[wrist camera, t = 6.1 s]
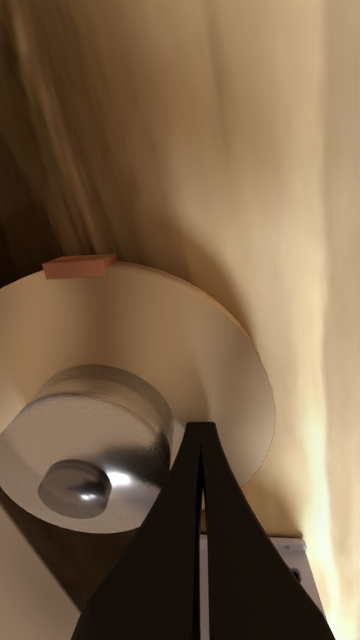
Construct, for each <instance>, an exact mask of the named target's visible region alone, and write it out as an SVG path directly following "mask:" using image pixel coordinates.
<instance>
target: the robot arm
mask: <svg viewBox="0 0 360 640" xmlns="http://www.w3.org/2000/svg"><path fill="white" fill-rule="evenodd" d="M203 492H204V503H205V513H206V523H207V535H200V530H201V514H202V498H203ZM306 548H307V547H306V543H305V541H304V540H302V539H297V538H272V537H268V535H267V534H266V532H265V531H264V529H263V528H262V526H261V524H260V523H259V521H258V519H257V518H256V516H255V514H254V512H253V511H252V509H251V507H250V505H249V504H248V502H247V500H246V498H245V496H244V494H243V492H242V490H241V489H240V487H239V484H238V482H237V480H236V478H235V476H234V474H233V472H232V470H231V467H230V465H229V463H228V460H227V458H226V456H225V453H224V451H223V448H222V445H221V442H220V439H219V436H218V432H217V428H216V423H214V422H188V423H186V427H185V432H184V435H183V439H182V442H181V445H180V448H179V450H178V453H177V455H176V458H175V460H174V463H173V465H172V468H171V470H170V472H169V474H168V476H167V478H166V481H165V483H164V485H163V487H162V489H161V491H160V493H159V495H158V496H157V498H156V500H155V502H154V504H153V505H152V507H151V509H150V511H149V512H148V514H147V516H146V517H145V519H144V521H143V522H142V524H141V526H140V527H139V529H138V530H137V532H136V533H135V535H134V536H133V538H132V539H131V541H130V542H129V544H128V545H127V547H126V548H125V549H124V551H123V552H122V554H121V555H120V557H119V558H118V560H117V561H116V562H115V564H114V565H113V566H112V568H111V569H110V570H109V572H108V573H107V574H106V575H105V577H104V578H103V579H102V581H101V582H100V583H99V585H98V586H97V587H96V588H95V590H94V591H93V592H92V594H91V595H90V596H89V598H88V600H87V602H86V604H85V606H84V608H83V610H82V613H81V615H80V617H79V620H78V622H77V625H76V628H75V630H74V633H73V635H72V638H71V640H335V638H334V635H333V633H332V631H331V629H330V627H329V625H328V623H327V620H326V616H325V613H324V610H323V607H322V604H321V600H320V597H319V594H318V591H317V588H316V584H315V581H314V578H313V575H312V571H311V568H310V565H309V562H308V559H307V555H306V553H305V552H306Z"/></svg>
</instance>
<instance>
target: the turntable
mask: <svg viewBox="0 0 360 640" xmlns="http://www.w3.org/2000/svg"><path fill="white" fill-rule="evenodd" d="M42 266H43V269H44V270H42V271H39V272H36V273H34V274H31V275H29V276H26V277H24V278H22V279H20V280H17V281H15V282H13V283H11V284H9V285H7V286H4V287H3V288H1V289H0V434H1V433H2V431H3V430H4V429H5V428H6V427H7V426H8V425H9V423H10V422H11V421H12V420H13V419H14V418H15V417H16V416H17V414H18V413H19V412H20V411H21V410H22V409H23V408H24V406H25V405H26V404H27V403H28V402H29V401H30V400H31V398H32V397H33V396H34V395H35V394H36V393H37V392H38V390H39V389H40V388H41V387H42V386H43V385H44V384H45V383H46V381H48V380H49V379H50V378H51V377H52V376H53V375H55V374H56V373H58V372H60V371H62V370H64V369H67V368H70V367H74V366H79V365H88V364H97V365H107V366H112V367H116V368H119V369H123V370H126V371H128V372H130V373H133V374H135V375H137V376H138V377H140V378H142V379H144V380H145V381H146V382H148V383H149V384H151V385H152V386H153V387H154V388H155V389H156V390H157V391H158V392H159V393H160V394H161V395H162V396H163V397H164V399H165V400H166V402H167V403H168V405H169V407H170V409H171V411H172V415H173V418H174V425H175V427H174V439H173V448H172V458H171V467H170V470H171V468H172V465H173V463H174V460H175V458H176V455H177V453H178V450H179V448H180V445H181V442H182V439H183V435H184V432H185V427H186V423H188V422H214V423H216V428H217V432H218V436H219V439H220V442H221V445H222V448H223V451H224V453H225V456H226V458H227V460H228V463H229V465H230V467H231V470H232V472H233V474H234V476H235V478H236V480H237V482H238V484H239V487H240V488H241V487H242V486H243V485H245V484H246V483H247V482H248V481H249V480H250V479H251V477H252V476H253V475H254V474H255V473H256V471H257V470H258V469H259V467H260V466H261V464H262V462H263V461H264V459H265V457H266V455H267V453H268V450H269V448H270V445H271V443H272V439H273V433H274V428H275V404H274V397H273V391H272V388H271V385H270V382H269V379H268V376H267V373H266V371H265V368H264V366H263V364H262V361H261V359H260V356H259V354H258V352H257V350H256V348H255V346H254V344H253V343H252V341H251V339H250V337H249V336H248V334H247V333H246V332H245V330H244V329H243V328H242V326H241V325H240V324H239V322H238V321H237V320H236V319H235V318H234V317H233V316H232V315H231V314H230V313H229V312H228V311H227V310H226V309H225V308H224V307H223V306H222V305H221V304H220V303H219V302H217V301H216V300H215V299H213V298H212V297H211V296H209V295H208V294H207V293H206V292H204V291H203V290H201V289H199V288H197V287H196V286H194V285H192V284H191V283H189V282H187V281H185V280H184V279H181V278H179V277H177V276H174V275H172V274H169V273H167V272H165V271H162V270H159V269H156V268H152V267H148V266H145V265H141V264H138V263H131V262H123V261H117V257H116V253H114V254H98V255H82V256H66V257H60V258H57V259H54V260H51V261H49V262H46V263H43V264H42ZM203 509H205V503H204V492H203V498H202V510H203Z"/></svg>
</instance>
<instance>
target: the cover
mask: <svg viewBox="0 0 360 640" xmlns="http://www.w3.org/2000/svg"><path fill="white" fill-rule="evenodd" d="M174 427H175V425H174V418H173V415H172V411H171V409H170V407H169V405H168V403H167V402H166V400H165V399H164V397H163V396H162V395H161V394H160V393H159V392H158V391H157V390H156V389H155V388H154V387H153V386H152V385H151V384H149V383H148V382H146V381H145V380H144V379H142V378H140V377H138V376H137V375H135V374H133V373H130V372H128V371H126V370H123V369H119V368H116V367H112V366H107V365H97V364H88V365H79V366H74V367H70V368H67V369H64V370H62V371H60V372H58V373H56V374H55V375H53V376H52V377H51V378H50V379H49V380H48V381H46V383H45V384H44V385H43V386H42V387H41V388H40V389H39V390H38V392H37V393H36V394H35V395H34V396H33V397H32V398H31V400H30V401H29V402H28V403H27V404H26V405H25V406H24V408H23V409H22V410H21V411H20V412H19V413H18V414H17V416H16V417H15V418H14V419H13V420H12V421H11V422H10V423H9V425H8V426H7V427H6V428H5V429H4V430H3V431H2V433H1V434H0V486H1V487H2V489H3V490H4V491H5V493H6V494H7V495H8V496H9V497H10V498H11V499H12V500H13V501H15V502H16V503H17V504H18V505H19V506H21V507H22V508H24V509H25V510H26V511H28V512H30V513H31V514H33V515H35V516H36V517H38V518H40V519H42V520H45V521H47V522H49V523H52V524H54V525H57V526H60V527H63V528H67V529H71V530H76V531H81V532H89V533H116V532H123V531H127V530H131V529H134V528H137V527H140V526H141V524H142V522H143V521H144V519H145V517H146V516H147V514H148V512H149V511H150V509H151V507H152V505H153V504H154V502H155V500H156V498H157V496H158V495H159V493H160V491H161V489H162V487H163V485H164V483H165V481H166V478H167V476H168V474H169V472H170V467H171V458H172V448H173V439H174Z"/></svg>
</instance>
